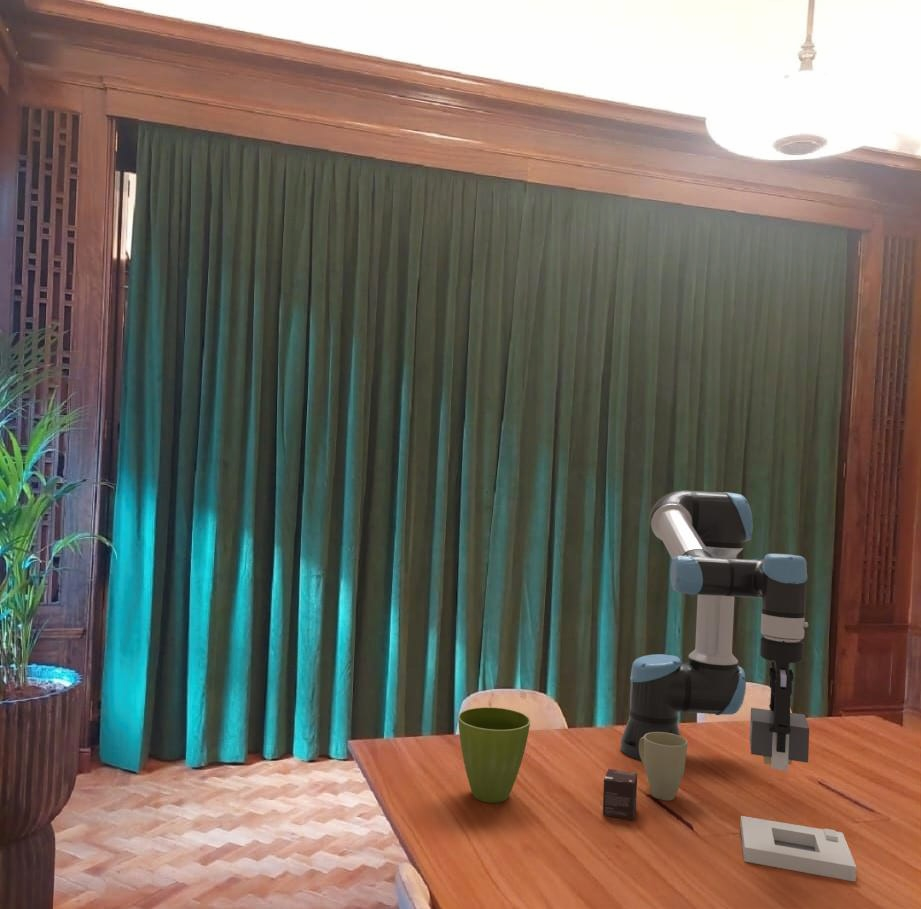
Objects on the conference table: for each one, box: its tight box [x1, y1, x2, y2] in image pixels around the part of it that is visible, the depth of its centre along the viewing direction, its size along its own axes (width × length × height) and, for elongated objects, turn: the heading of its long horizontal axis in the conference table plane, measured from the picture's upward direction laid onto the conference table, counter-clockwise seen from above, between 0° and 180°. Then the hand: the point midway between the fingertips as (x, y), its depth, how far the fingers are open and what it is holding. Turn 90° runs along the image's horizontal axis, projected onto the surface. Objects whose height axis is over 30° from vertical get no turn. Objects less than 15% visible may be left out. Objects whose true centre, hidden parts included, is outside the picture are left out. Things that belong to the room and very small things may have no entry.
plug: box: [749, 707, 810, 766], centre depth 147 cm, size 10×10×8 cm
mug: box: [639, 732, 688, 801], centre depth 170 cm, size 11×10×12 cm
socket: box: [740, 815, 857, 882], centre depth 145 cm, size 18×14×3 cm
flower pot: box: [457, 707, 531, 804], centre depth 164 cm, size 15×15×16 cm
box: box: [602, 768, 638, 821], centre depth 159 cm, size 6×6×7 cm
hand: (777, 760), depth 147 cm, fingers closed on plug, 9 cm apart
